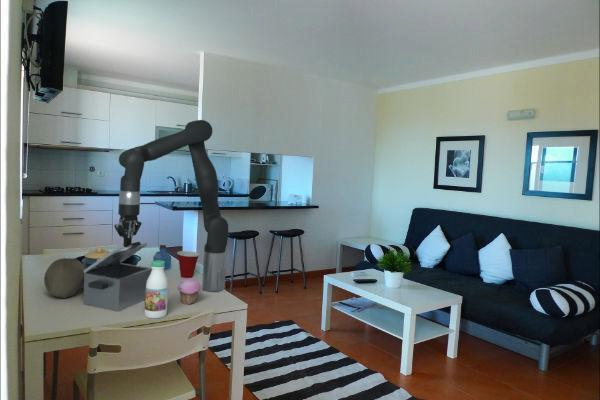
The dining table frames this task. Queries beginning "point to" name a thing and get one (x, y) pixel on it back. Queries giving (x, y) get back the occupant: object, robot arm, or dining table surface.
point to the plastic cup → (187, 263)
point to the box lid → (116, 256)
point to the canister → (93, 258)
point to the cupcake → (189, 290)
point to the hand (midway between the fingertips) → (127, 247)
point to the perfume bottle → (163, 256)
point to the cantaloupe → (64, 277)
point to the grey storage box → (116, 286)
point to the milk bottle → (156, 291)
